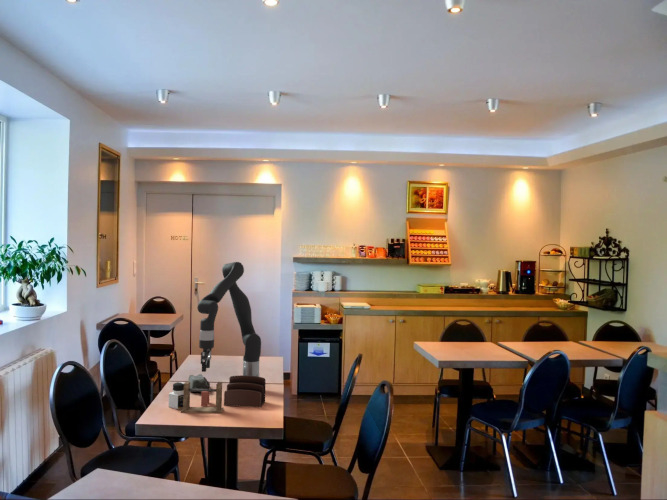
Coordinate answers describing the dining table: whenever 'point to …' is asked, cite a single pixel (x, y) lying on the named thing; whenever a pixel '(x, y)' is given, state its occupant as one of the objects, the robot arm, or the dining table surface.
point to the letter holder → (245, 391)
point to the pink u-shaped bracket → (204, 398)
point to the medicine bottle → (176, 396)
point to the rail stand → (189, 409)
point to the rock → (198, 382)
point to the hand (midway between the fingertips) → (205, 369)
